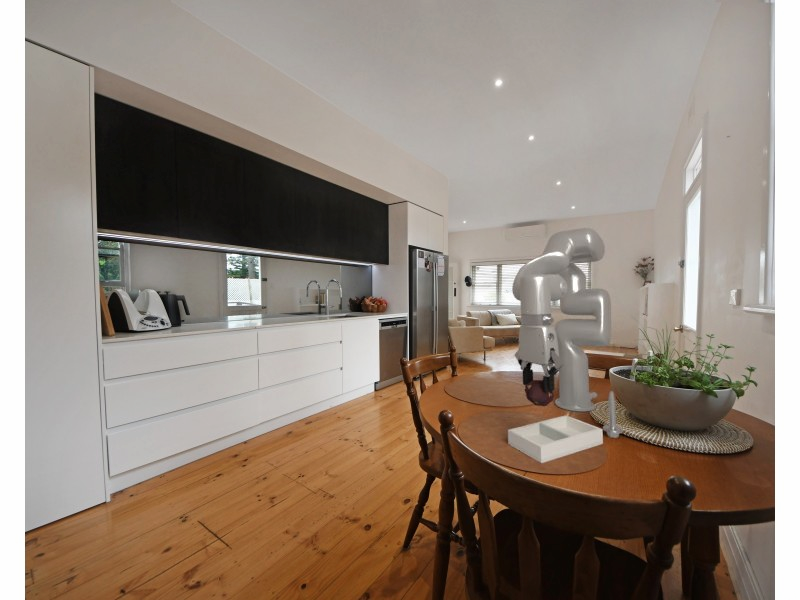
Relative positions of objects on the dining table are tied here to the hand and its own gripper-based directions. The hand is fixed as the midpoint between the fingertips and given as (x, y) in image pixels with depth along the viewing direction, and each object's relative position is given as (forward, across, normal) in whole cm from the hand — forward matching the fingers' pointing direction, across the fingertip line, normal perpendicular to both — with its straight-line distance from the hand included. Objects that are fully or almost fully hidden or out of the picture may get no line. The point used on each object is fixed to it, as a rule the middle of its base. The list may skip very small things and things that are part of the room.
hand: (538, 387), depth 87 cm
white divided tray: (+17, 0, -6) cm, 17 cm away
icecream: (+5, 0, 0) cm, 5 cm away
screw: (+17, -4, -24) cm, 29 cm away
